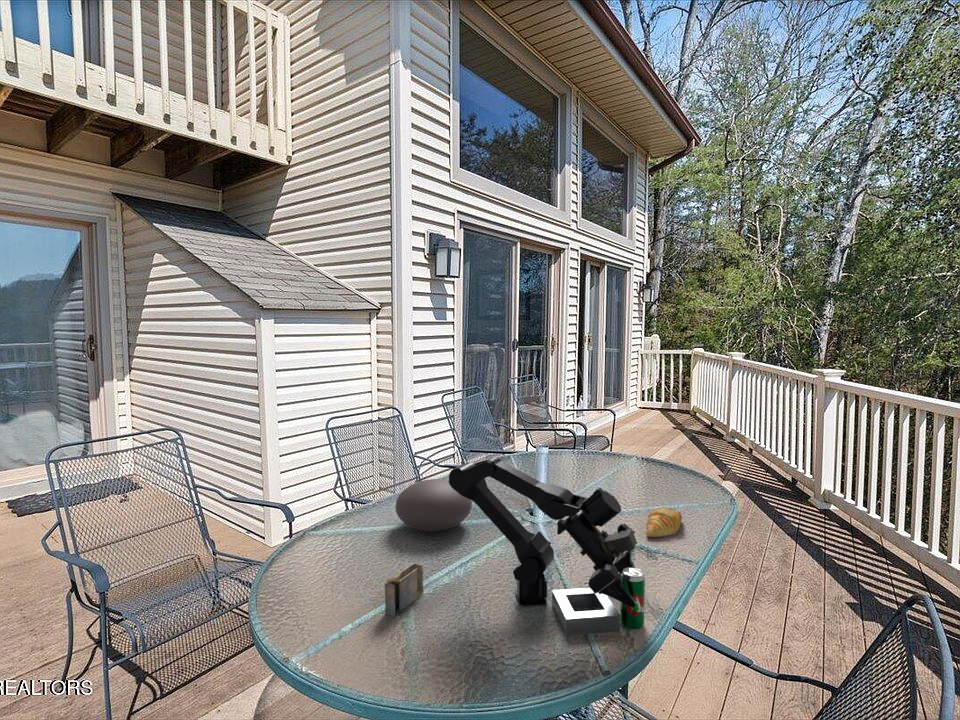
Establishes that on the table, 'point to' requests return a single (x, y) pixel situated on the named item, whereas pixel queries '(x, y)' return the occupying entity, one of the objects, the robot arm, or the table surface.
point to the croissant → (663, 522)
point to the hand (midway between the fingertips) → (638, 595)
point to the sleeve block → (585, 621)
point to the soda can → (636, 589)
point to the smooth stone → (432, 506)
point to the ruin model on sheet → (403, 588)
